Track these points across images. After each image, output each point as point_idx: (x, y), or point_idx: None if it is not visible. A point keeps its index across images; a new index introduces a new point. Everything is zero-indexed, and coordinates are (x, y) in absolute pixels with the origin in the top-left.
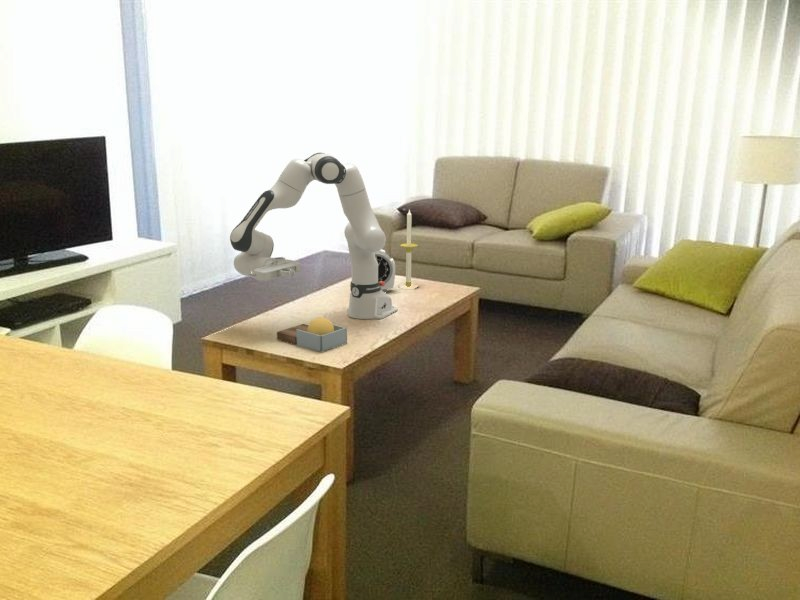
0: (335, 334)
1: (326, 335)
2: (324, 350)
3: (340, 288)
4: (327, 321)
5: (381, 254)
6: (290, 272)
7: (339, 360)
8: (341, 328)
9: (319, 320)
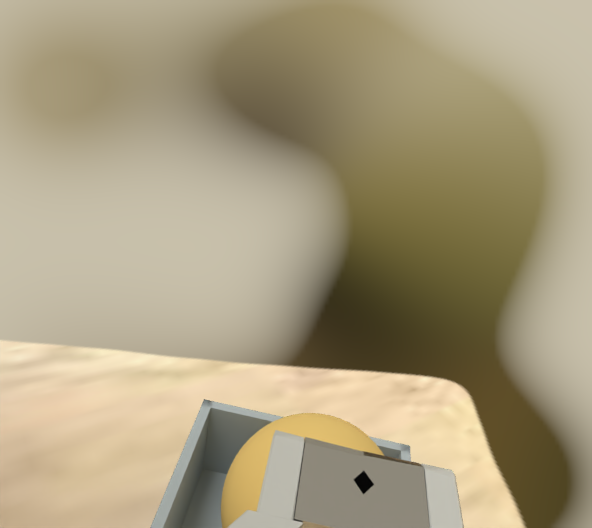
0: None
1: None
2: None
3: None
4: (315, 414)
5: None
6: (415, 464)
7: (412, 409)
8: (203, 429)
9: (355, 439)
